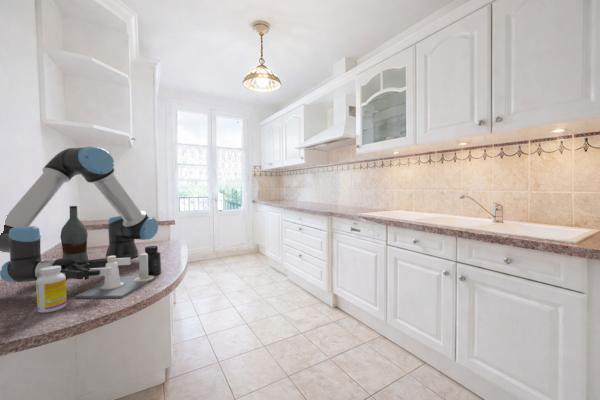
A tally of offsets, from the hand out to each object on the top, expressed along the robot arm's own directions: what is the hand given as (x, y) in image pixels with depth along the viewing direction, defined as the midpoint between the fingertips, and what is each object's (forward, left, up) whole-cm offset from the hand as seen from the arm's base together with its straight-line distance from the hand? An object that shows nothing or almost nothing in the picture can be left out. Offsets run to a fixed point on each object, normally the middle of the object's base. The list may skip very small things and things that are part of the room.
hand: (121, 265), depth 97 cm
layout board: (0, -1, -8) cm, 8 cm away
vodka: (-19, -35, -8) cm, 41 cm away
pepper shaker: (0, -3, -7) cm, 8 cm away
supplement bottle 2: (-16, +2, -8) cm, 19 cm away
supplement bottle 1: (+18, -9, -8) cm, 22 cm away
